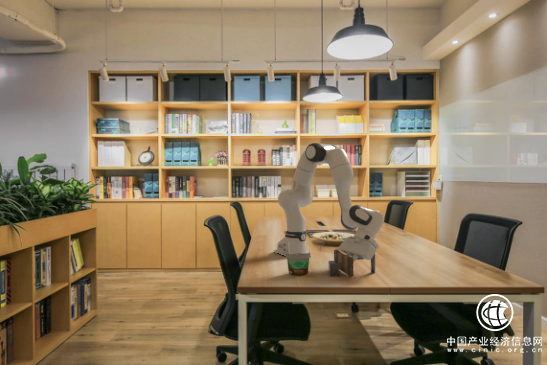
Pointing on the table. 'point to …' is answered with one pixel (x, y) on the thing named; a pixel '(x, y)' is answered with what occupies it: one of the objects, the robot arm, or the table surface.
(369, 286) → the table surface
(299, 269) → the yogurt cup
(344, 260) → the brown wooden bar
